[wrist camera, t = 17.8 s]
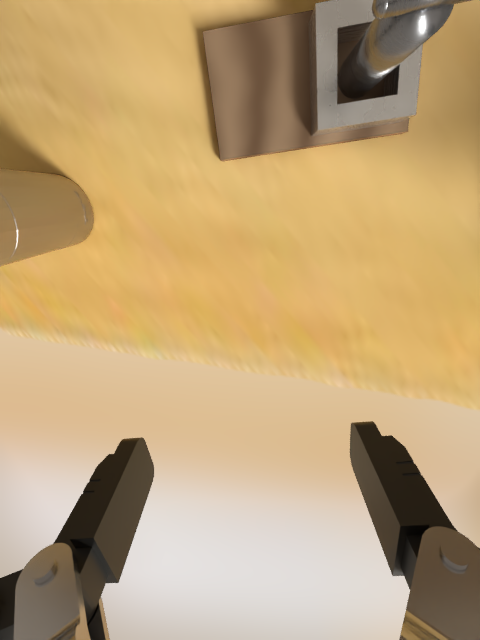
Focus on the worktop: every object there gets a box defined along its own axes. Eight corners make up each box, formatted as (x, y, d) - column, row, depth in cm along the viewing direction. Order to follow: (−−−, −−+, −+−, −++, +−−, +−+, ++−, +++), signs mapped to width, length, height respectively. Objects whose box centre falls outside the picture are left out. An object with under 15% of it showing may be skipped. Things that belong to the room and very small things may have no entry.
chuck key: (322, 104, 32) (376, 39, 19) (321, 60, 31) (378, -45, 17) (390, 92, 32) (493, 15, 18) (392, 45, 30) (506, -74, 17)
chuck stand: (221, 161, 36) (217, 156, 32) (204, 38, 31) (197, 12, 27) (401, 133, 34) (424, 124, 30) (412, -2, 30) (442, -37, 25)
